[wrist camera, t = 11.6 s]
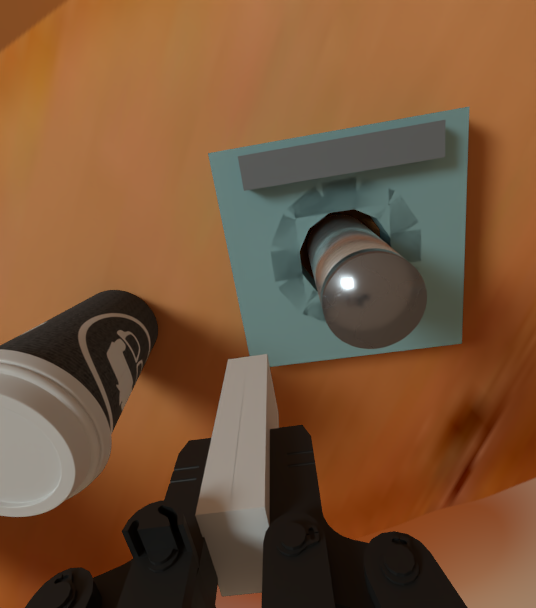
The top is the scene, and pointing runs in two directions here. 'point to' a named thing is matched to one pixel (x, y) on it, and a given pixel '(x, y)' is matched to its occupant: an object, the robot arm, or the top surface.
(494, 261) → the top surface
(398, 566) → the robot arm
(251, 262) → the jig
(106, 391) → the coffee cup
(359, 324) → the metal cylinder
